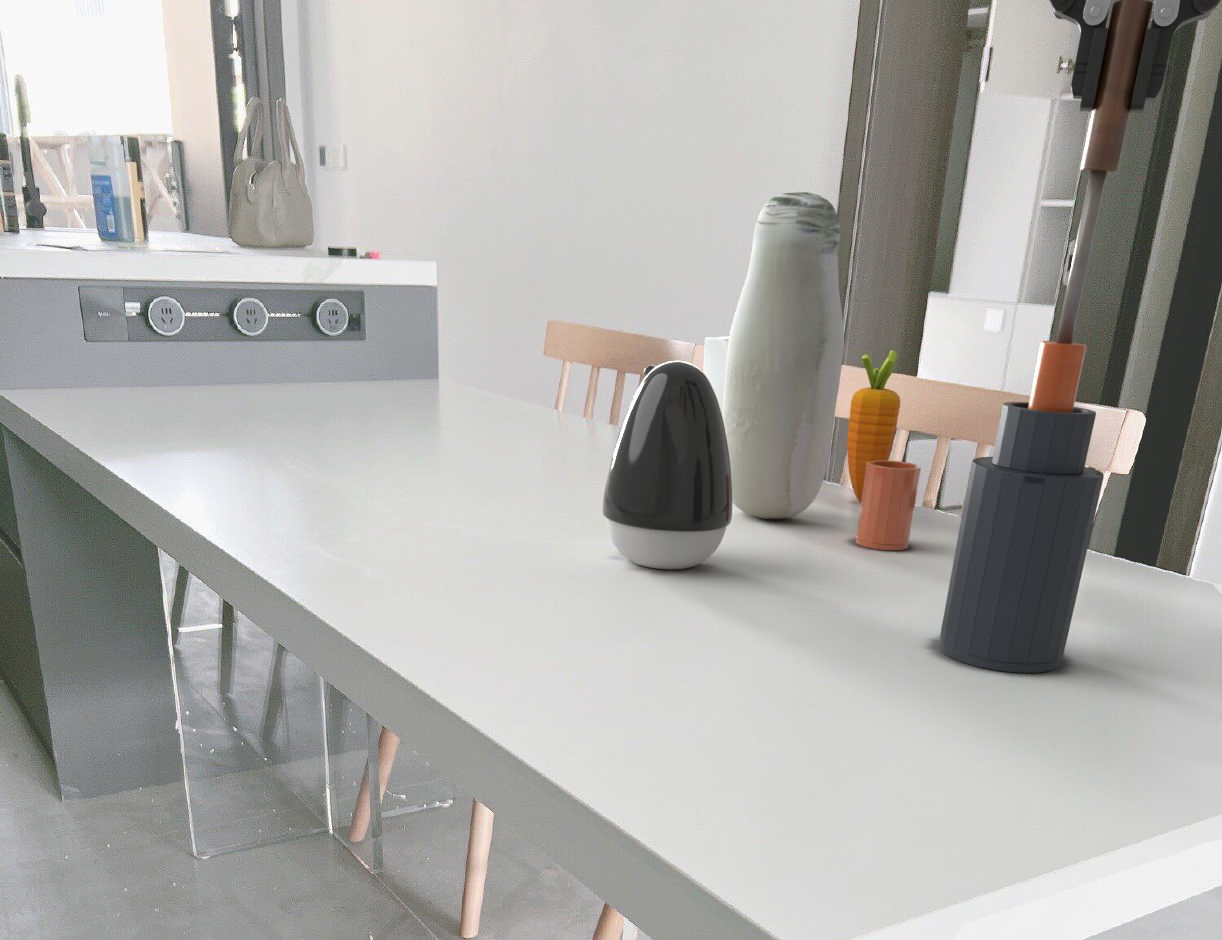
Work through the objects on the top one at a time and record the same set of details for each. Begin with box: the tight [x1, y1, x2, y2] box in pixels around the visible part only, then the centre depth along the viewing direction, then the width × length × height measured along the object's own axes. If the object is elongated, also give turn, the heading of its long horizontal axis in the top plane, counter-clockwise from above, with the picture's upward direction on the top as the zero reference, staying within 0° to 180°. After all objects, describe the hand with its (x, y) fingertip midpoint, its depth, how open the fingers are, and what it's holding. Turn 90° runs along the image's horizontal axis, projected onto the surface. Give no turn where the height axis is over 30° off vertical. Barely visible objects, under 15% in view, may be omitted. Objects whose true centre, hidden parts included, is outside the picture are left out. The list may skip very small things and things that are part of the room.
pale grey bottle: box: [723, 191, 845, 520], centre depth 112 cm, size 10×10×28 cm
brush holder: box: [855, 459, 922, 551], centre depth 108 cm, size 5×5×7 cm
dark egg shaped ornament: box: [601, 360, 733, 570], centre depth 95 cm, size 10×10×15 cm
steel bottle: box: [938, 401, 1105, 674], centre depth 77 cm, size 8×8×16 cm
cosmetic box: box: [702, 335, 730, 418], centre depth 135 cm, size 8×6×15 cm
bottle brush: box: [1028, 0, 1154, 413], centre depth 70 cm, size 3×3×24 cm
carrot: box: [847, 350, 901, 504], centre depth 125 cm, size 5×5×15 cm
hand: (1110, 109), depth 67 cm, fingers closed on bottle brush, 2 cm apart
